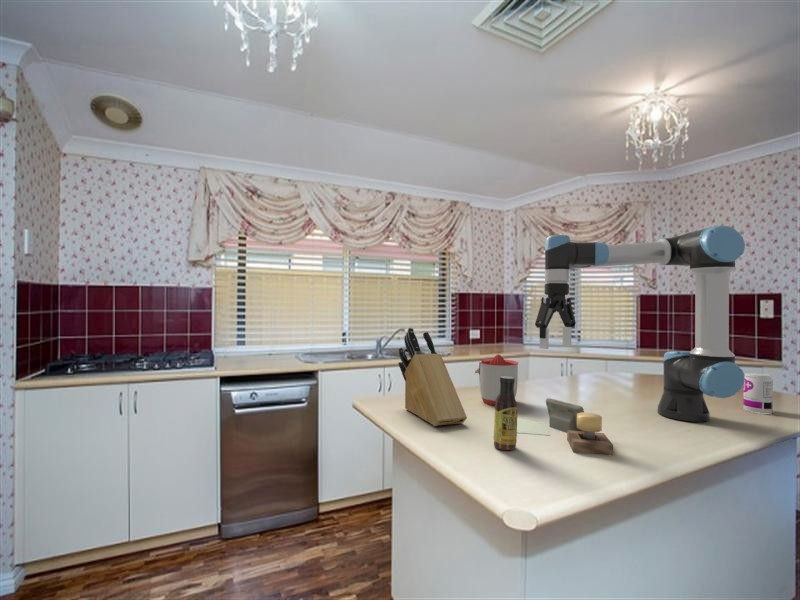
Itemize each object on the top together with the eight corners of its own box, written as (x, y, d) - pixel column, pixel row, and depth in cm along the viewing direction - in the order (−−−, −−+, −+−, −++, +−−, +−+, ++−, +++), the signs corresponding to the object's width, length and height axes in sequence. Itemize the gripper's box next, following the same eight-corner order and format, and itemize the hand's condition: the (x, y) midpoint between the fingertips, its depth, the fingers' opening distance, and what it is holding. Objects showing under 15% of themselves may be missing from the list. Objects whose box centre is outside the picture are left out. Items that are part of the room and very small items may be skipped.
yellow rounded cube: (598, 434, 116) (598, 413, 116) (604, 442, 110) (604, 419, 110) (574, 432, 117) (574, 411, 117) (578, 439, 111) (579, 417, 111)
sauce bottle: (502, 453, 109) (503, 380, 109) (489, 445, 115) (489, 376, 115) (522, 449, 112) (522, 378, 112) (507, 442, 117) (508, 374, 117)
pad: (544, 420, 140) (544, 419, 140) (550, 436, 123) (550, 435, 123) (505, 417, 143) (505, 416, 143) (506, 432, 126) (506, 431, 126)
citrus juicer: (477, 397, 173) (477, 350, 173) (519, 400, 167) (519, 352, 167) (471, 405, 158) (471, 355, 158) (516, 410, 152) (517, 357, 152)
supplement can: (748, 416, 147) (749, 375, 147) (739, 410, 155) (739, 371, 155) (777, 418, 144) (777, 377, 144) (766, 412, 152) (766, 373, 152)
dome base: (603, 443, 117) (603, 433, 117) (613, 456, 107) (613, 444, 107) (567, 440, 120) (567, 430, 120) (573, 452, 110) (573, 441, 110)
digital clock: (591, 435, 125) (591, 405, 125) (571, 437, 122) (571, 407, 122) (559, 422, 138) (559, 395, 138) (541, 424, 135) (541, 397, 135)
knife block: (420, 401, 164) (421, 326, 165) (467, 426, 132) (468, 332, 132) (395, 403, 160) (395, 326, 160) (437, 430, 128) (438, 333, 128)
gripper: (566, 284, 142) (565, 344, 142) (524, 281, 127) (523, 348, 127) (587, 284, 136) (586, 346, 136) (545, 280, 121) (544, 351, 121)
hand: (555, 347), depth 132 cm, fingers open, 13 cm apart
